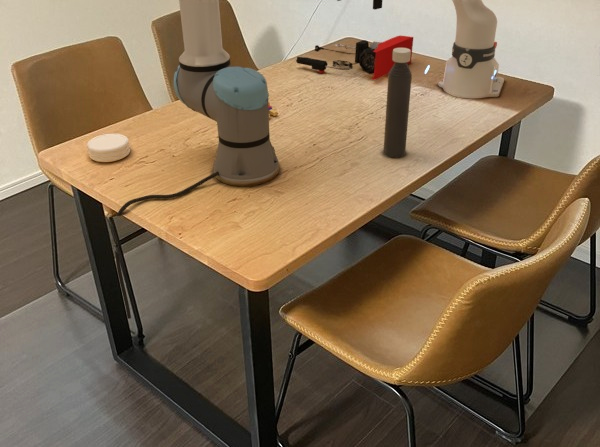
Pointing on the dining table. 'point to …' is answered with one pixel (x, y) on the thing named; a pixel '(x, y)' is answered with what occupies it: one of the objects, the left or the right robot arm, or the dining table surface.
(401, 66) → the bottle
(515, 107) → the dining table surface
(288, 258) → the dining table surface
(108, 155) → the white round disc
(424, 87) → the dining table surface
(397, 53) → the cap
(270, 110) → the toy figure
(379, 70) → the electric hoist
